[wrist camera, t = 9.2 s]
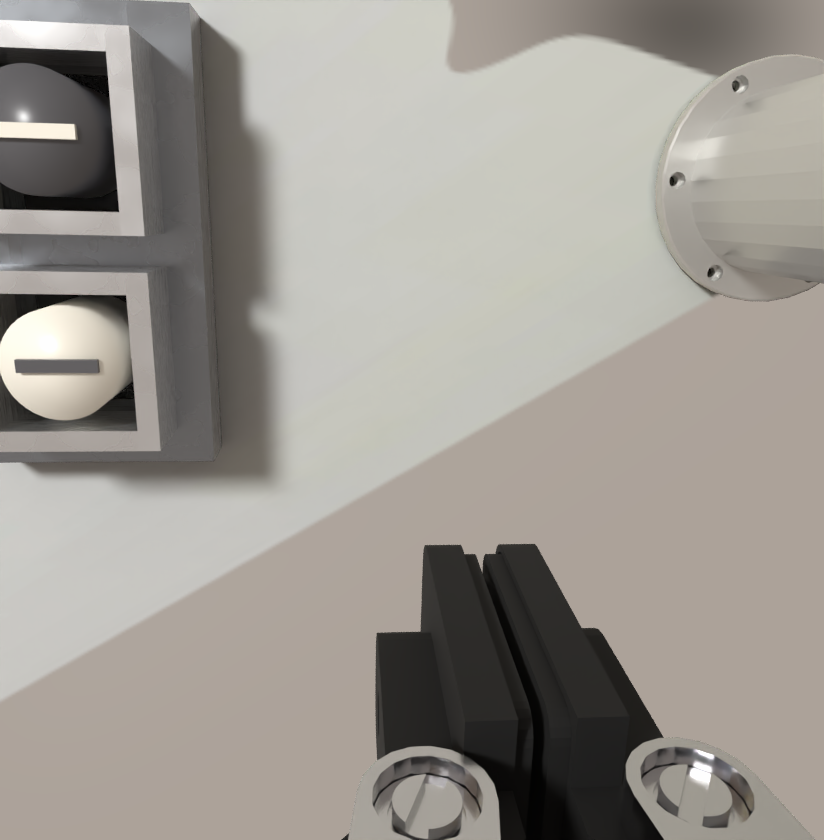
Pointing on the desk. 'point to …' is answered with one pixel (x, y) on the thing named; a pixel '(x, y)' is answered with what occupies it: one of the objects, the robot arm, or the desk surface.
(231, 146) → the desk surface
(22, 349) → the knob ivory
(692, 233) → the robot arm
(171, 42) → the mount
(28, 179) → the knob black
